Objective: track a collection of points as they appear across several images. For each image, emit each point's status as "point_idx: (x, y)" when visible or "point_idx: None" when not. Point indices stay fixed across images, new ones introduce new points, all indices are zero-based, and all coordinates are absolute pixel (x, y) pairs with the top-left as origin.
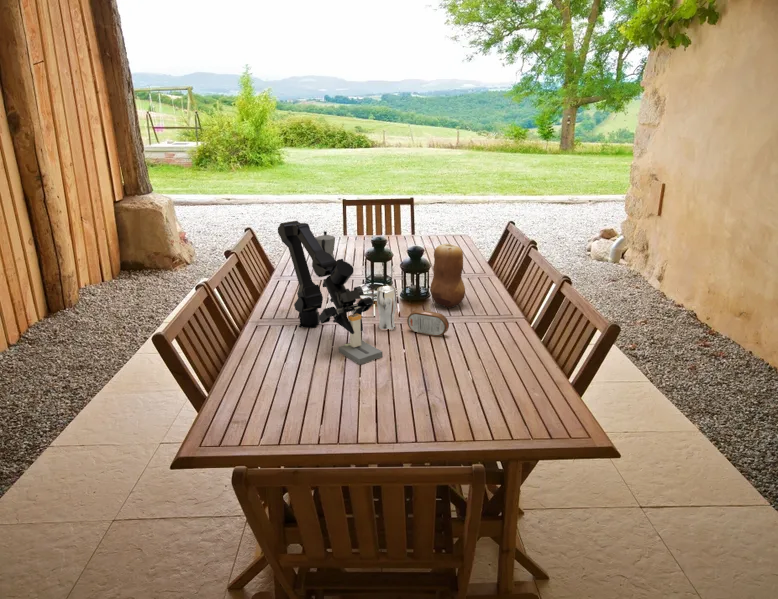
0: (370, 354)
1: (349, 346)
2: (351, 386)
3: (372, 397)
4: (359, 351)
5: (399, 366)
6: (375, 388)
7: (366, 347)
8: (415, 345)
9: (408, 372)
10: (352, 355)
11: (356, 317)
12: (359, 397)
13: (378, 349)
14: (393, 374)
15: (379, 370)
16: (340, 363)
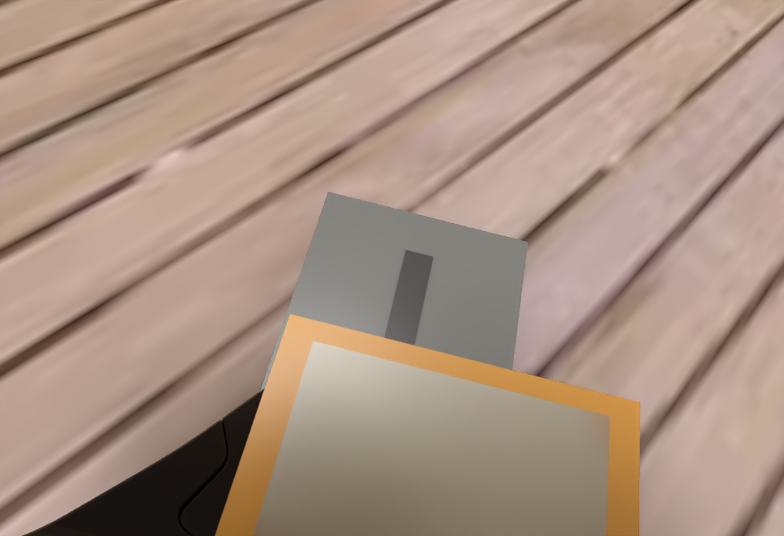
0: (421, 227)
1: None
2: (699, 144)
3: (678, 29)
4: (435, 326)
5: (372, 80)
6: (621, 56)
7: None
8: (47, 146)
9: (398, 22)
10: (515, 330)
11: (473, 364)
12: (723, 66)
13: (315, 232)
14: (463, 61)
15: (479, 133)
16: (586, 378)
